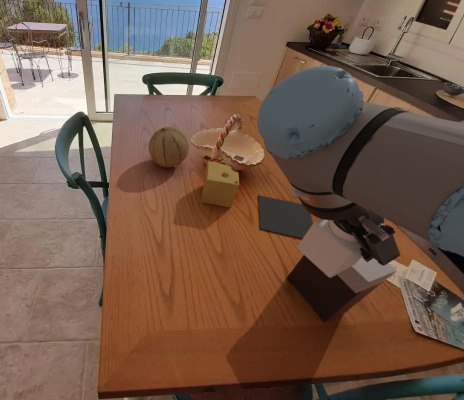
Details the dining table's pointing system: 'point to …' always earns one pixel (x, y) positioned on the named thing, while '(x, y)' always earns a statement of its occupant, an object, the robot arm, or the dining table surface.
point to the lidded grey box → (337, 285)
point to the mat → (283, 217)
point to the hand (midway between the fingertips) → (350, 236)
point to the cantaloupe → (168, 147)
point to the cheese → (219, 184)
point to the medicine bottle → (332, 246)
